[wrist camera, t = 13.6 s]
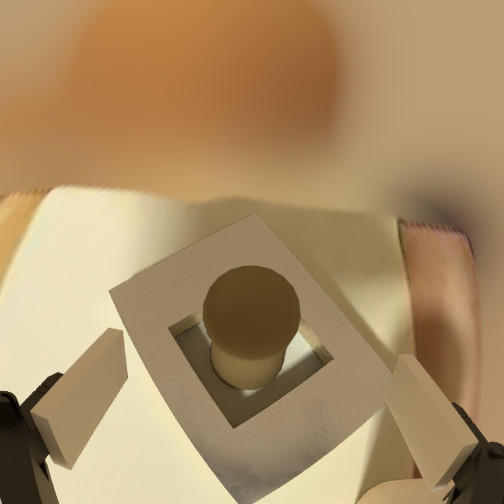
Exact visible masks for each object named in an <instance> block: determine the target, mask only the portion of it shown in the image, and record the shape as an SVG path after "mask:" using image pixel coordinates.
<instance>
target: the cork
mask: <svg viewBox="0 0 504 504" xmlns="http://www.w3.org/2000/svg"><path fill="white" fill-rule="evenodd" d="M202 318H203V322H204V325H205V328H206V332H207V334H208V336H209V338H210V339H211V341H212V342H211V348H210V361H211V364H212V367H213V370H214V372H215V373H216V374H217V376H218V377H219V378H220V380H222V381H223V382H225V383H226V384H227V385H229V386H230V387H234V388H237V389H240V390H255V389H258V388H261V387H264V386H266V385H267V384H269V383H270V382H272V381H273V380H274V379H275V378H276V377H277V375H278V374H279V372H280V371H281V369H282V365H283V362H284V355H285V348H286V347H287V346H288V345H289V344H290V342H291V341H292V339H293V338H294V336H295V335H296V333H297V331H298V327H299V323H300V319H301V313H300V303H299V298H298V296H297V294H296V292H295V290H294V287H293V286H292V285H291V284H290V283H289V282H288V281H287V279H286V278H285V277H284V276H282V275H280V274H279V273H277V272H275V271H274V270H272V269H269V268H265V267H261V266H241V267H238V268H234V269H230V270H229V271H227V272H226V273H224V274H222V275H221V276H219V277H218V278H217V279H216V281H215V282H214V283H213V284H212V285H211V286H210V288H209V290H208V293H207V295H206V298H205V300H204V303H203V316H202Z"/></svg>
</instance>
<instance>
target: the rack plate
mask: <svg viewBox="0 0 504 504" xmlns="http://www.w3.org/2000/svg"><path fill="white" fill-rule="evenodd" d="M241 266H261V267H265V268H269V269H272V270H274V271H275V272H277V273H279V274H280V275H282V276H284V277H285V278H286V279H287V281H288V282H289V283H290V284H291V285H292V286H293V287H294V290H295V292H296V294H297V296H298V298H299V303H300V313H301V319H300V323H299V327H298V331H299V332H300V333H301V335H302V336H303V337H304V338H305V340H306V341H307V342H308V344H309V345H310V346H311V347H312V349H313V350H314V351H315V352H316V354H317V355H318V356H319V357H320V359H321V360H322V361H323V362H324V364H325V366H324V367H323V368H322V369H320V370H319V371H318V372H316V373H315V374H314V375H312V376H311V377H310V378H308V379H307V380H306V381H304V382H303V383H302V384H300V385H299V386H297V387H296V388H295V389H293V390H292V391H290V392H289V393H288V394H286V395H285V396H283V397H282V398H280V399H279V400H278V401H276V402H275V403H273V404H272V405H270V406H269V407H267V408H266V409H264V410H263V411H261V412H260V413H258V414H257V415H255V416H254V417H252V418H250V419H249V420H247V421H246V422H244V423H242V424H241V425H239V426H238V427H236V428H233V427H232V425H231V424H230V423H229V421H228V420H227V418H226V417H225V416H224V414H223V413H222V411H221V410H220V408H219V407H218V406H217V404H216V403H215V401H214V400H213V398H212V397H211V395H210V394H209V392H208V391H207V389H206V388H205V386H204V385H203V383H202V382H201V380H200V379H199V377H198V376H197V374H196V372H195V371H194V369H193V368H192V366H191V365H190V363H189V361H188V360H187V358H186V356H185V355H184V353H183V352H182V350H181V348H180V347H179V345H178V343H177V342H176V340H175V338H174V337H175V336H177V335H179V334H180V333H182V332H184V331H186V330H187V329H189V328H191V327H193V326H194V325H196V324H198V323H199V322H201V321H203V318H202V316H203V303H204V300H205V298H206V295H207V293H208V290H209V288H210V286H211V285H212V284H213V283H214V282H215V281H216V279H217V278H218V277H219V276H221V275H222V274H224V273H226V272H227V271H229V270H230V269H234V268H238V267H241ZM109 293H110V295H111V298H112V300H113V302H114V304H115V307H116V309H117V311H118V313H119V315H120V318H121V320H122V322H123V324H124V326H125V328H126V330H127V332H128V334H129V336H130V338H131V340H132V342H133V344H134V346H135V348H136V350H137V352H138V354H139V356H140V358H141V360H142V361H143V363H144V365H145V367H146V369H147V371H148V372H149V374H150V376H151V378H152V380H153V381H154V383H155V385H156V387H157V388H158V390H159V392H160V393H161V395H162V397H163V398H164V400H165V402H166V403H167V405H168V407H169V408H170V410H171V412H172V413H173V415H174V416H175V418H176V419H177V421H178V423H179V424H180V426H181V427H182V429H183V430H184V432H185V433H186V435H187V436H188V438H189V439H190V441H191V442H192V444H193V445H194V446H195V448H196V449H197V451H198V452H199V454H200V455H201V456H202V458H203V459H204V461H205V462H206V463H207V465H208V466H209V467H210V469H211V470H212V471H213V473H214V474H215V475H216V477H217V478H218V479H219V480H220V482H221V483H222V484H223V486H224V487H225V488H226V489H227V491H228V492H229V493H230V494H231V495H232V497H233V498H234V499H235V500H236V501H237V503H238V504H253V503H254V502H256V501H258V500H260V499H261V498H263V497H265V496H266V495H268V494H270V493H271V492H273V491H274V490H276V489H278V488H279V487H281V486H282V485H284V484H285V483H287V482H289V481H290V480H292V479H293V478H294V477H296V476H297V475H299V474H300V473H302V472H303V471H305V470H306V469H307V468H309V467H310V466H312V465H313V464H314V463H316V462H317V461H318V460H320V459H321V458H322V457H324V456H325V455H326V454H328V453H329V452H330V451H332V450H333V449H334V448H335V447H337V446H338V445H339V444H340V443H342V442H343V441H344V440H345V439H346V438H348V437H349V436H350V435H351V434H352V433H354V432H355V431H356V430H357V429H358V428H359V427H361V426H362V425H363V424H364V423H365V422H366V421H367V420H368V419H370V418H371V417H372V416H373V415H374V414H375V413H376V412H377V411H378V410H379V409H380V408H381V407H382V406H383V405H385V404H386V402H385V400H384V396H385V393H386V391H387V388H388V385H389V382H390V380H391V377H392V374H393V373H392V372H391V371H390V370H389V368H388V367H387V366H386V365H385V363H384V362H383V361H382V360H381V358H380V357H379V356H378V355H377V353H376V352H375V351H374V350H373V349H372V347H371V346H370V345H369V344H368V342H367V341H366V340H365V339H364V338H363V336H362V335H361V334H360V333H359V331H358V330H357V329H356V328H355V327H354V325H353V324H352V323H351V322H350V321H349V319H348V318H347V317H346V316H345V315H344V313H343V312H342V311H341V310H340V309H339V307H338V306H337V305H336V304H335V303H334V302H333V300H332V299H331V298H330V297H329V296H328V294H327V293H326V292H325V291H324V290H323V289H322V287H321V286H320V285H319V284H318V283H317V281H316V280H315V279H314V278H313V277H312V276H311V274H310V273H309V272H308V271H307V270H306V269H305V267H304V266H303V265H302V264H301V263H300V262H299V261H298V259H297V258H296V257H295V256H294V255H293V254H292V252H291V251H290V250H289V249H288V248H287V247H286V246H285V244H284V243H283V242H282V241H281V240H280V239H279V238H278V236H277V235H276V234H275V233H274V232H273V231H272V230H271V228H270V227H269V226H268V225H267V224H266V223H265V222H264V220H263V219H262V218H261V217H260V216H259V215H258V214H257V213H256V212H255V213H253V214H251V215H249V216H247V217H245V218H243V219H241V220H239V221H237V222H235V223H234V224H232V225H230V226H228V227H226V228H224V229H222V230H220V231H218V232H216V233H214V234H212V235H210V236H208V237H207V238H205V239H203V240H201V241H199V242H197V243H195V244H193V245H191V246H189V247H188V248H186V249H184V250H182V251H180V252H178V253H176V254H174V255H173V256H171V257H169V258H167V259H165V260H163V261H161V262H160V263H158V264H156V265H154V266H152V267H150V268H149V269H147V270H145V271H143V272H141V273H139V274H138V275H136V276H134V277H132V278H130V279H129V280H127V281H125V282H123V283H121V284H120V285H118V286H116V287H114V288H112V289H111V290H109Z"/></svg>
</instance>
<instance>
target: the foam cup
mask: <svg viewBox="0 0 504 504" xmlns="http://www.w3.org/2000/svg"><path fill="white" fill-rule="evenodd" d="M454 485H455V484H454V482H453V480H451V481H450V482H449V484H448V485H447V486H446V487H445V488H444V489H441V490H438V491H434V492H431V493H429V491H428V489H427V486H426V484H425V482H424V480H423V478H421V479H404V480H393V481H387V482H382V483H380V484H378V485H377V486H375V487H373V488H371V489H369V490H368V491H367V492H366V493H365V494H364V495H363V496H362V497H361V498H360V499H359V501H358V502H357V503H356V504H446V503H447V500H448V497H447V499H446V500H445V501H442V500H443V498H444V497H445V496H446V495H447V493H448V492H449V491H450V490H451V489H452V487H453V486H454Z"/></svg>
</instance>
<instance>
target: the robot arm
mask: <svg viewBox="0 0 504 504" xmlns="http://www.w3.org/2000/svg"><path fill="white" fill-rule="evenodd" d="M127 378H128V373H127V365H126V357H125V348H124V337H123V331H122V330H117V329H112V328H108V329H107V330H106V331H105V332H104V333H103V334H102V335H101V336H100V337H99V338H98V339H97V340H96V341H95V342H94V343H93V344H92V345H91V346H90V347H89V348H88V350H87V351H86V352H85V353H84V354H83V355H82V356H81V357H80V358H79V359H78V360H77V361H76V362H75V363H74V364H73V365H72V366H71V367H70V368H69V369H68V370H67V372H66V373H65V374H62V373H59V372H57V373H55V374H53V375H51V376H49V377H47V379H46V380H45V381H44V382H43V383H42V384H41V386H39V387H38V388H37V389H36V391H34V392H33V393H32V394H31V395H30V396H29V397H28V398H27V399H26V400H25V401H24V402H23V403H22V404H21V405H20V406H19V403H18V401H17V398H16V396H15V395H14V394H13V393H11V392H8V391H0V496H1V502H2V504H59V502H58V499H57V496H56V493H55V490H54V487H53V483H52V480H51V476H50V473H49V469H48V465H47V463H46V461H45V459H46V457H47V456H48V455H50V457H51V458H52V460H53V462H54V463H55V464H57V465H59V466H62V467H64V468H66V469H69V470H71V469H72V467H73V465H74V464H75V462H76V460H77V459H78V457H79V455H80V454H81V452H82V450H83V449H84V447H85V445H86V444H87V442H88V440H89V439H90V437H91V436H92V434H93V432H94V431H95V429H96V427H97V426H98V424H99V423H100V421H101V419H102V418H103V416H104V415H105V413H106V411H107V410H108V408H109V407H110V405H111V403H112V402H113V400H114V399H115V397H116V396H117V394H118V392H119V391H120V389H121V388H122V386H123V385H124V383H125V382H126V380H127ZM384 400H385V402H386V404H387V406H388V408H389V410H390V412H391V414H392V416H393V418H394V420H395V422H396V424H397V426H398V428H399V430H400V432H401V434H402V436H403V438H404V440H405V442H406V444H407V446H408V448H409V450H410V452H411V454H412V456H413V458H414V461H415V463H416V465H417V467H418V469H419V471H420V473H421V475H422V478H423V480H424V482H425V484H426V486H427V489H428V491H429V493H431V492H434V491H438V490H441V489H444V488H445V487H446V486H447V485H448V484H449V482H450V481H451V480H453V482H454V484H455V485H454V486H453V487H452V489H451V490H450V491H449V492H448V493H447V495H446V496H445V497H444V498H443V500H442V501H445V500H446V499H447V497H448V500H447V503H446V504H504V446H503V445H502V444H500V443H497V442H489V443H488V442H487V440H486V439H485V437H484V436H483V435H482V433H481V432H480V430H479V429H478V428H477V426H476V425H475V424H474V423H472V422H473V421H472V420H471V418H470V417H468V415H467V413H466V412H465V411H464V409H463V408H462V407H460V406H459V405H457V404H456V403H450V401H449V400H448V399H447V397H446V396H445V395H444V394H443V392H442V391H441V390H440V388H439V387H438V386H437V384H436V383H435V382H434V381H433V379H432V378H431V377H430V375H429V374H428V373H427V372H426V370H425V369H424V368H423V367H422V365H421V364H420V363H419V362H418V360H417V359H416V358H415V357H414V355H413V354H399V356H398V359H397V362H396V365H395V368H394V371H393V374H392V377H391V380H390V382H389V385H388V388H387V391H386V393H385V396H384Z"/></svg>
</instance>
